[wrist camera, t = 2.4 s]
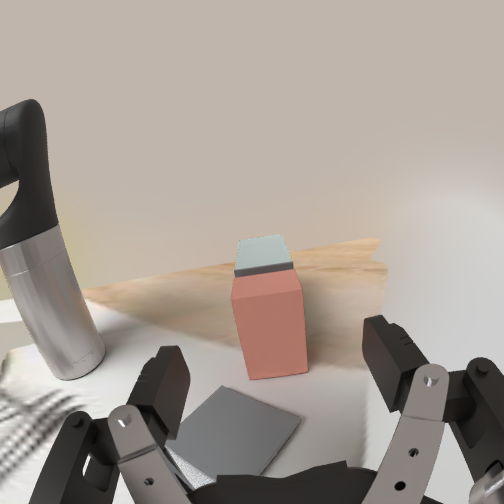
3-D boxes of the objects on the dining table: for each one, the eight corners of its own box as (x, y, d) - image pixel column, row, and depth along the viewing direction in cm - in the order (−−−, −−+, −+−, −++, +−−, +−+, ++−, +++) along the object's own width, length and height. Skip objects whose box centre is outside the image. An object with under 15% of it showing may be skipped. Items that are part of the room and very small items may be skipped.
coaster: (162, 444, 17) (159, 440, 16) (223, 389, 23) (221, 385, 22) (240, 496, 12) (239, 494, 12) (300, 420, 18) (300, 416, 18)
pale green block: (301, 342, 28) (294, 266, 25) (249, 350, 28) (233, 274, 25) (289, 295, 38) (282, 233, 35) (250, 300, 38) (239, 240, 35)
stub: (307, 372, 23) (302, 289, 20) (249, 379, 24) (230, 299, 21) (301, 346, 27) (294, 269, 24) (249, 353, 27) (233, 277, 24)
